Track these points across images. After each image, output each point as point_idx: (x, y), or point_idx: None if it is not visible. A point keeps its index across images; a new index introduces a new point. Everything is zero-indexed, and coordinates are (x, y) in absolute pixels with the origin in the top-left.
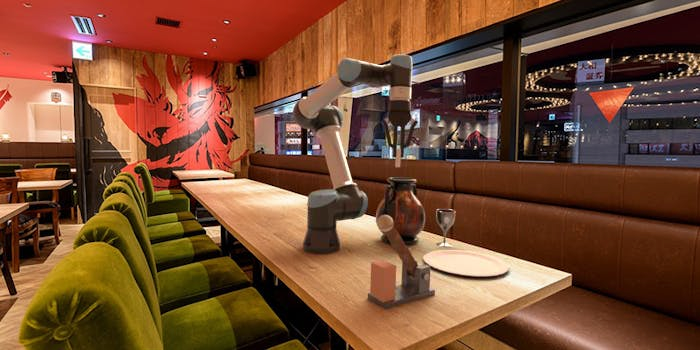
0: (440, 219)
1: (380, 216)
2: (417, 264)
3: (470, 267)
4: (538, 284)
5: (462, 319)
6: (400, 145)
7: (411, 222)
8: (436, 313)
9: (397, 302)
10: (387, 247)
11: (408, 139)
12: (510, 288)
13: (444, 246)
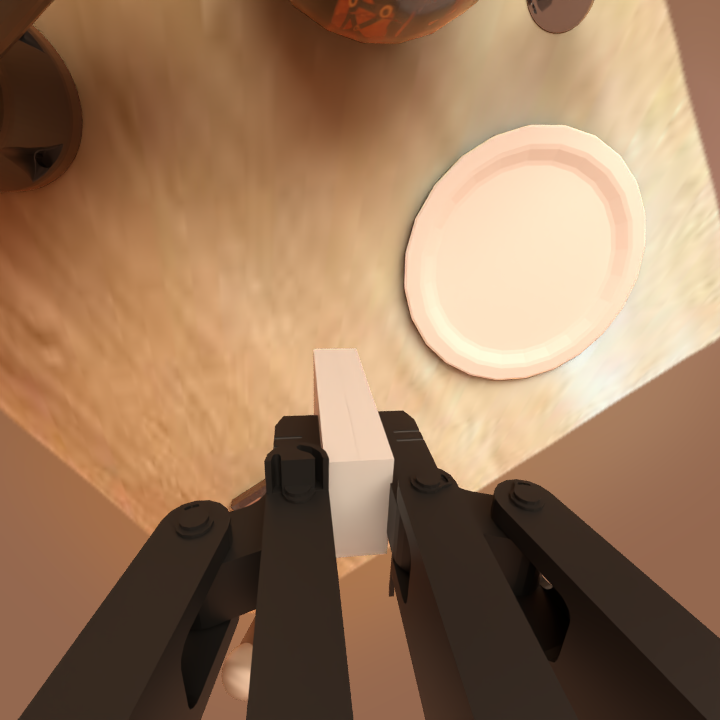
0: None
1: (229, 693)
2: None
3: (524, 301)
4: (622, 388)
5: None
6: (407, 522)
7: (425, 30)
8: None
9: None
10: (295, 55)
11: (569, 692)
12: (546, 417)
13: (549, 28)
